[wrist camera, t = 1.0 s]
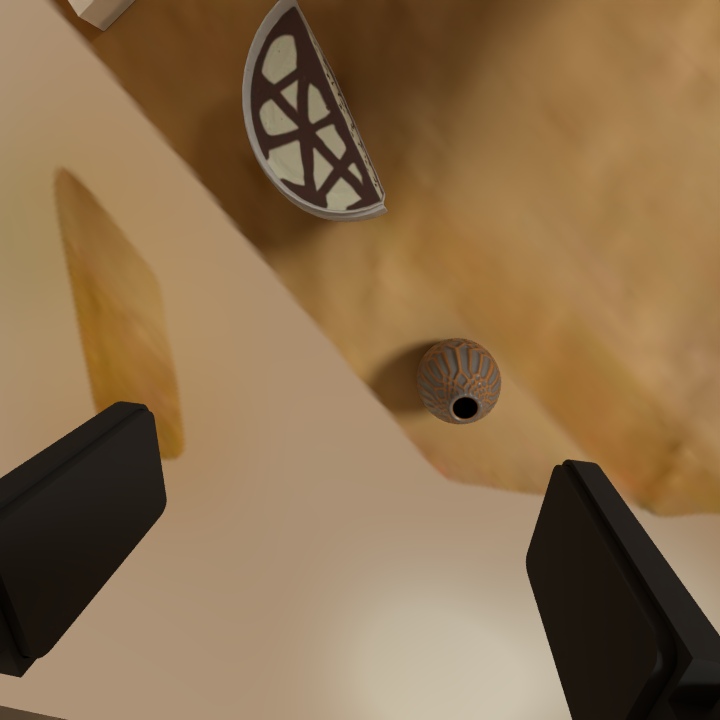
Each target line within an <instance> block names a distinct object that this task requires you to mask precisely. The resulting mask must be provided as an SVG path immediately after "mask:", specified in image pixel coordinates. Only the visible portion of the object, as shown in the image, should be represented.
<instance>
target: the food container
mask: <svg viewBox="0 0 720 720" xmlns="http://www.w3.org/2000/svg"><path fill="white" fill-rule="evenodd" d="M297 3H298V2H297V0H279V1H278V2H277V3H276V4H275V6H274V7H273V8H272V9H271V10H270V12H269V13H268V14H267V15H266V17H265V18H264V20H263V22H262V23H261V25H260V27H259V29H258V30H257V32H256V34H255V37H254V39H253V42H252V44H251V47H250V49H249V52H248V56H247V60H246V64H245V68H244V77H243V85H242V109H243V116H244V123H245V128H246V132H247V135H248V139H249V143H250V145H251V148H252V150H253V152H254V155H255V157H256V159H257V161H258V163H259V164H260V166H261V168H262V170H263V171H264V173H265V174H266V176H267V177H268V178H269V179H270V181H271V182H272V183H273V184H274V186H275V187H276V188H277V189H278V190H279V192H281V193H282V194H283V195H284V196H285V197H286V198H287V199H288V200H289V201H290V202H292V203H293V204H295V205H296V206H298V207H299V208H301V209H302V210H304V211H306V212H308V213H310V214H312V215H315V216H317V217H320V218H324V219H328V220H331V221H341V222H353V221H363V220H367V219H371V218H375V217H378V216H380V215H382V214H385V213H387V212H388V211H387V209H386V208H385V206H384V204H383V203H384V199H385V196H386V194H385V192H384V189H383V187H382V185H381V182H380V180H379V178H378V175H377V173H376V171H375V168H374V166H373V164H372V161H371V159H370V156H369V154H368V152H367V149H366V147H365V145H364V142H363V140H362V138H361V135H360V133H359V131H358V128H357V126H356V124H355V121H354V119H353V117H352V114H351V112H350V110H349V107H348V105H347V103H346V100H345V98H344V95H343V93H342V91H341V88H340V86H339V84H338V81H337V79H336V77H335V74H334V72H333V71H332V69H331V67H330V65H329V63H328V61H327V59H326V57H325V55H324V53H323V51H322V50H321V48H320V46H319V44H318V42H317V40H316V38H315V36H314V34H313V32H312V30H311V29H310V27H309V25H308V23H307V21H306V19H305V17H304V15H303V13H302V11H301V9H300V8H299V6H298V4H297Z"/></svg>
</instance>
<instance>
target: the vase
mask: <svg viewBox="0 0 720 720" xmlns="http://www.w3.org/2000/svg"><path fill="white" fill-rule="evenodd" d="M417 389H418V393H419V396H420V398H421V400H422V402H423V404H424V405H425V406H426V408H427V409H428V410H429V411H430V412H431V413H432V414H433V415H434V416H436V417H437V418H439V419H441V420H443V421H445V422H448V423H452V424H468V423H472V422H475V421H477V420H479V419H481V418H483V417H484V416H486V415H487V414H488V413H489V412H490V411H491V410H492V408H493V407H494V406H495V404H496V402H497V400H498V397H499V394H500V389H501V377H500V372H499V368H498V366H497V364H496V362H495V360H494V359H493V357H492V356H491V354H490V353H489V352H488V351H487V350H486V349H485V348H483V347H482V346H481V345H479V344H477V343H475V342H473V341H470V340H467V339H459V338H454V339H448V340H444V341H441V342H439V343H437V344H436V345H434V346H433V347H431V348H430V349H429V350H428V351H427V352H426V353H425V355H424V356H423V358H422V359H421V361H420V364H419V366H418V371H417Z"/></svg>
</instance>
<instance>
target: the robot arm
mask: <svg viewBox="0 0 720 720" xmlns="http://www.w3.org/2000/svg"><path fill="white" fill-rule="evenodd" d="M166 500H167V499H166V492H165V485H164V478H163V472H162V465H161V459H160V452H159V445H158V439H157V432H156V426H155V419H154V415H153V413H152V412H150V411H149V410H148V408H147V406H146V405H144V404H138V403H130V402H123V401H120V402H116V403H114V404H113V405H111V406H110V407H108V408H107V409H105V410H104V411H102V412H101V413H99V414H98V415H96V416H95V417H93V418H91V419H90V420H88V421H87V422H85V423H84V424H82V425H81V426H79V427H78V428H76V429H75V430H73V431H72V432H70V433H69V434H67V435H66V436H64V437H63V438H61V439H59V440H58V441H57V442H55V443H53V444H52V445H51V446H49V447H47V448H46V449H44V450H43V451H41V452H40V453H38V454H37V455H35V456H34V457H32V458H31V459H29V460H27V461H26V462H24V463H23V464H21V465H20V466H18V467H17V468H15V469H14V470H12V471H11V472H9V473H8V474H6V475H5V476H3V477H2V478H0V673H2V674H6V675H11V676H16V677H22V676H23V675H24V673H25V672H26V671H27V670H28V668H29V667H30V666H31V665H32V664H33V663H34V661H35V660H36V659H37V658H41V657H43V656H44V655H46V654H47V653H48V652H49V651H50V650H51V649H52V648H53V647H54V645H55V644H56V643H57V642H58V641H59V639H60V638H61V637H62V636H63V634H64V633H65V632H66V631H67V630H68V628H69V627H70V626H71V625H72V623H73V622H74V621H75V620H76V619H77V617H78V616H79V615H80V614H81V613H82V611H83V610H84V609H85V608H86V606H87V605H88V604H89V603H90V602H91V600H92V599H93V598H94V597H95V595H96V594H97V593H98V592H99V591H100V589H101V588H102V587H103V586H104V584H105V583H106V582H107V581H108V580H109V578H110V577H111V576H112V575H113V573H114V572H115V571H116V570H117V569H118V567H119V566H120V565H121V564H122V563H123V561H124V560H125V559H126V558H127V556H128V555H129V554H130V553H131V552H132V550H133V549H134V548H135V547H136V545H137V544H138V543H139V542H140V541H141V539H142V538H143V537H144V536H145V534H146V533H147V532H148V531H149V530H150V528H151V527H152V526H153V525H154V524H155V522H156V521H157V520H158V518H159V517H160V516H161V515H162V513H163V511H164V509H165V506H166V502H167V501H166ZM526 569H527V573H528V577H529V580H530V584H531V587H532V590H533V593H534V597H535V600H536V603H537V606H538V610H539V613H540V616H541V619H542V623H543V626H544V629H545V632H546V636H547V639H548V642H549V645H550V649H551V652H552V655H553V658H554V661H555V665H556V668H557V671H558V675H559V678H560V681H561V684H562V688H563V691H564V694H565V697H566V701H567V704H568V707H569V711H570V714H571V717H572V720H720V636H719V634H718V633H717V631H716V630H715V629H714V627H713V626H712V624H711V623H710V622H709V620H708V619H707V617H706V616H705V614H704V613H703V612H702V610H701V609H700V608H699V606H698V605H697V603H696V602H695V600H694V599H693V598H692V596H691V595H690V593H689V592H688V591H687V589H686V588H685V586H684V585H683V584H682V582H681V581H680V579H679V578H678V577H677V575H676V574H675V572H674V571H673V569H672V568H671V567H670V565H669V564H668V562H667V561H666V560H665V558H664V557H663V555H662V554H661V552H660V551H659V550H658V548H657V547H656V545H655V544H654V543H653V541H652V540H651V539H650V537H649V536H648V534H647V533H646V531H645V530H644V529H643V527H642V526H641V524H640V523H639V522H638V520H637V519H636V517H635V516H634V514H633V513H632V512H631V511H630V509H629V507H628V506H627V505H626V503H625V502H624V500H623V499H622V498H621V496H620V495H619V493H618V492H617V491H616V489H615V488H614V486H613V485H612V483H611V482H610V481H609V479H608V478H607V476H606V475H605V474H604V472H603V471H602V469H601V468H600V467H599V466H598V465H597V464H596V463H592V462H584V461H576V460H565V461H564V462H563V464H562V465H556V466H555V467H554V469H553V472H552V475H551V478H550V481H549V485H548V488H547V491H546V494H545V497H544V501H543V504H542V507H541V510H540V514H539V517H538V520H537V523H536V526H535V530H534V533H533V536H532V539H531V543H530V546H529V549H528V552H527V556H526ZM0 720H65V719H61V718H56V717H51V716H47V715H42V714H37V713H32V712H28V711H23V710H18V709H13V708H8V707H4V706H0Z"/></svg>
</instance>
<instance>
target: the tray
mask: <svg viewBox="0 0 720 720" xmlns="http://www.w3.org/2000/svg"><path fill="white" fill-rule="evenodd" d="M68 1H69V3H70V4H71V6H72V7H73V9H74V10H75V12H76V13H77V15H78V16H79V17H80V18H82V19H84V20H85V21H87V22H89V23H90V24H92V25H94V26H95V27H97V28H99V29H101V30H102V31H105V30H106V29H107V28H108V27H109V26H110V25H111V24H112V23H113V22H114V21H115V20H116V19H117V18H118V17H119V16H120V15H121V14H122V13H123V12H124V11H125V10H126V9H127V8H128V7H129V6H130V5H131V4H132V3H133V2H134V1H135V0H68Z"/></svg>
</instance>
